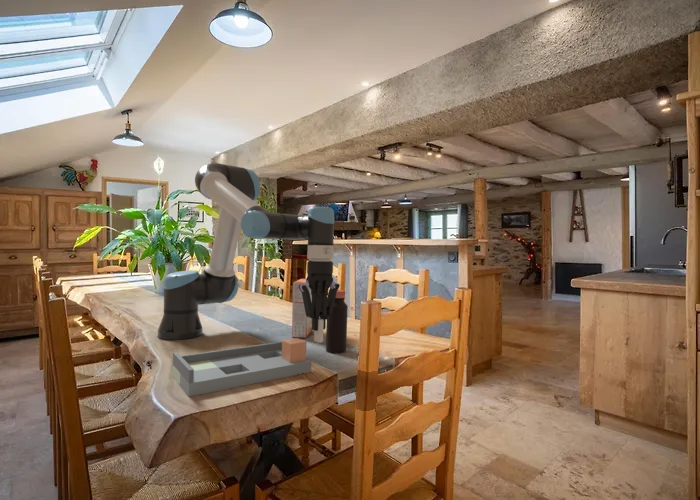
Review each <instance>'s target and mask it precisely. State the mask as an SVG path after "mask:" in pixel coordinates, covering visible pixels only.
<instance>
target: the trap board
mask: <svg viewBox="0 0 700 500" xmlns="http://www.w3.org/2000/svg"><path fill="white" fill-rule="evenodd" d="M306 372H309V373H312V361H311V360H309V359H307V358H306V360H302V361H296V362H288V361H286V360H285V359H283V358H282V341H278V342H277V341H276V342H268V343H262V344H261V343H260V344H255V345H248V346H247V345H246V346H241V347H234V348H226V349H225V348H224V349H219V350H212V351H205V352H198V353H191V354H182V355H181V354H180V353H179V352H177V351H175V352H173V353H172V377H173V378H174V380H175V381H176V382H177V383H178V385H179V386H180V388H181V389H182V391H183V392H184V393H185V394H186V395H187V396H188V397H195V396H200V395H203V394H204V395H205V394H209V393H214V392H219V391H224V390H228V389H233V388H238V387H240V388H241V387H245V386H249V385H254V384H258V383H264V382H269V381H274V380H279V379H283V378H289V377H293V375H294V376H298V375H297V374H299V375H303V374H302V373H304V374H307V373H306Z"/></svg>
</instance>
